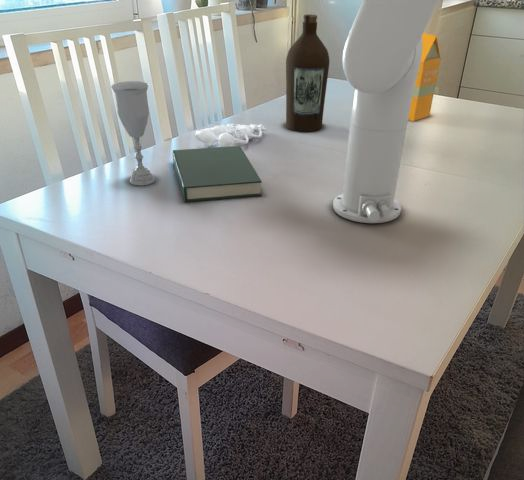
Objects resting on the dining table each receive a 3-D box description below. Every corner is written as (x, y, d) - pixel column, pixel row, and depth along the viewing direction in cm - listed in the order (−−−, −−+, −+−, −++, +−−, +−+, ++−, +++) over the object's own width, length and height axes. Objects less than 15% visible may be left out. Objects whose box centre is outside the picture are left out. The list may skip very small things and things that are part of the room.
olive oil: (282, 120, 146) (286, 11, 130) (321, 120, 146) (329, 12, 130) (285, 132, 137) (289, 18, 122) (326, 132, 138) (336, 18, 122)
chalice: (155, 187, 109) (144, 91, 97) (121, 187, 109) (106, 90, 97) (161, 174, 114) (151, 81, 103) (129, 173, 114) (116, 80, 103)
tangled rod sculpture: (235, 129, 143) (234, 112, 140) (280, 135, 135) (279, 118, 133) (184, 146, 130) (182, 128, 128) (231, 153, 123) (229, 134, 120)
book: (261, 195, 106) (261, 181, 104) (184, 202, 103) (183, 187, 101) (240, 159, 122) (240, 145, 120) (173, 163, 119) (172, 150, 117)
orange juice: (403, 109, 156) (416, 29, 143) (429, 116, 151) (445, 34, 138) (387, 114, 152) (399, 32, 139) (413, 121, 147) (428, 37, 134)
